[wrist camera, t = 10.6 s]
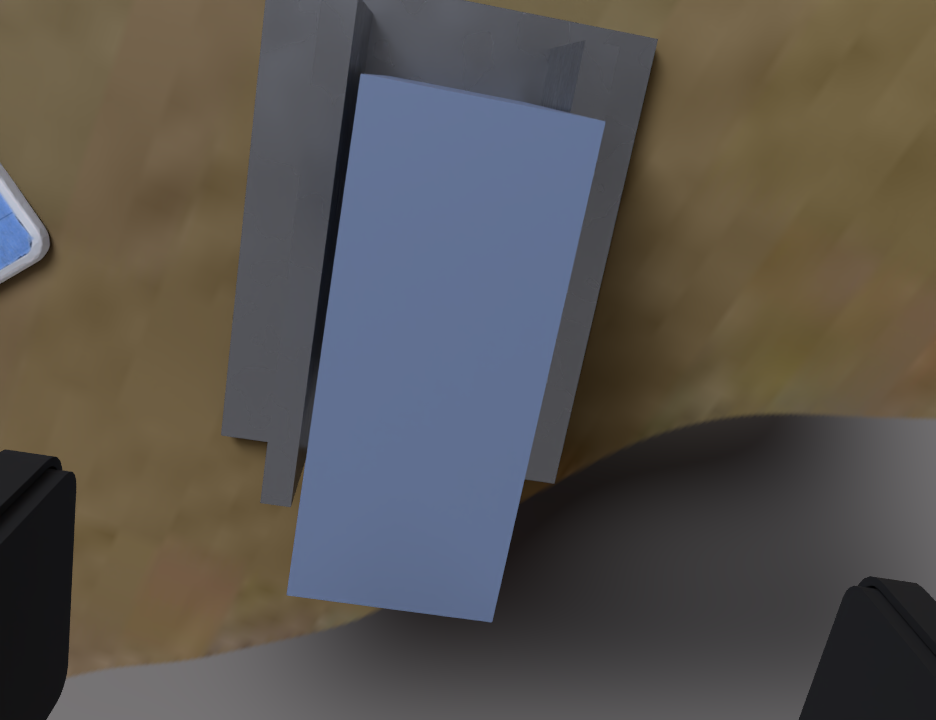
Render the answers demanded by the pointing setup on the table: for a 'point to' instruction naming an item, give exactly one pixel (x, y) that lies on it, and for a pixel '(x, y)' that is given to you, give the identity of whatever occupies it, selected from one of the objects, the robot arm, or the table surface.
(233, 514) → the table surface
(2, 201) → the tablet computer
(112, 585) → the table surface
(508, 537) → the book
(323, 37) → the book rack
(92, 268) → the table surface
